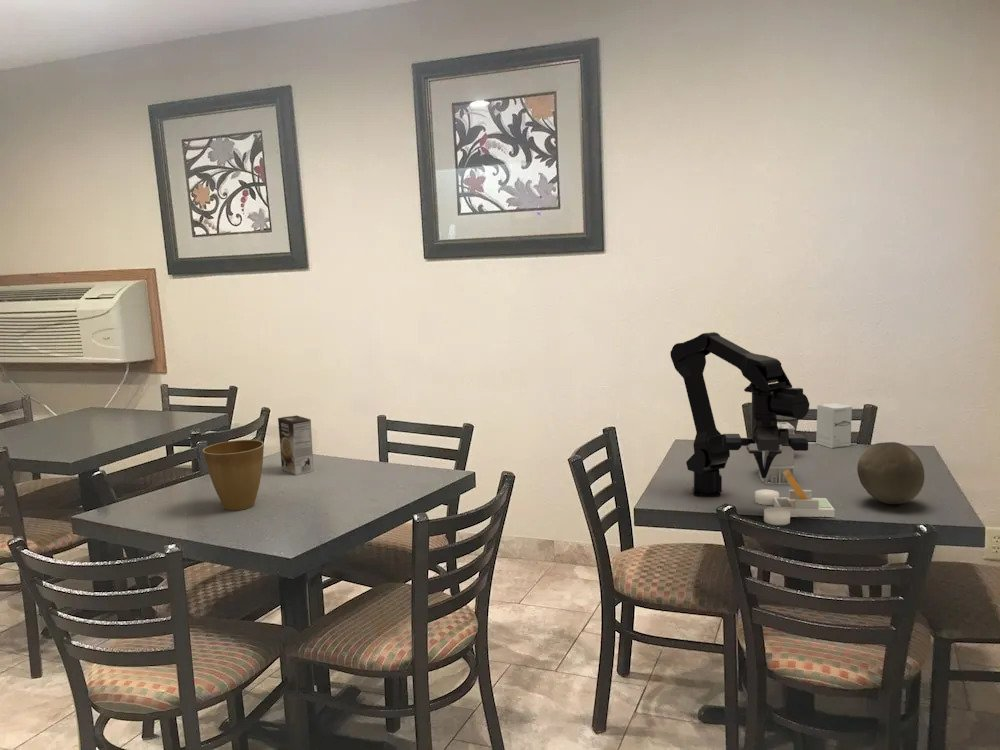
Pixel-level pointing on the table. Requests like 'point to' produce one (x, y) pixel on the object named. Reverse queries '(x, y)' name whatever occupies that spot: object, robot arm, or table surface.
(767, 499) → the cream dome knob
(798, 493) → the long orange brick
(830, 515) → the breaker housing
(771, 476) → the circuit breaker
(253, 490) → the plant pot
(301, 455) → the coffee box
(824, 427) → the supplement box
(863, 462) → the cantaloupe
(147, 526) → the table surface
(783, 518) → the cream round disc
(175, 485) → the table surface
